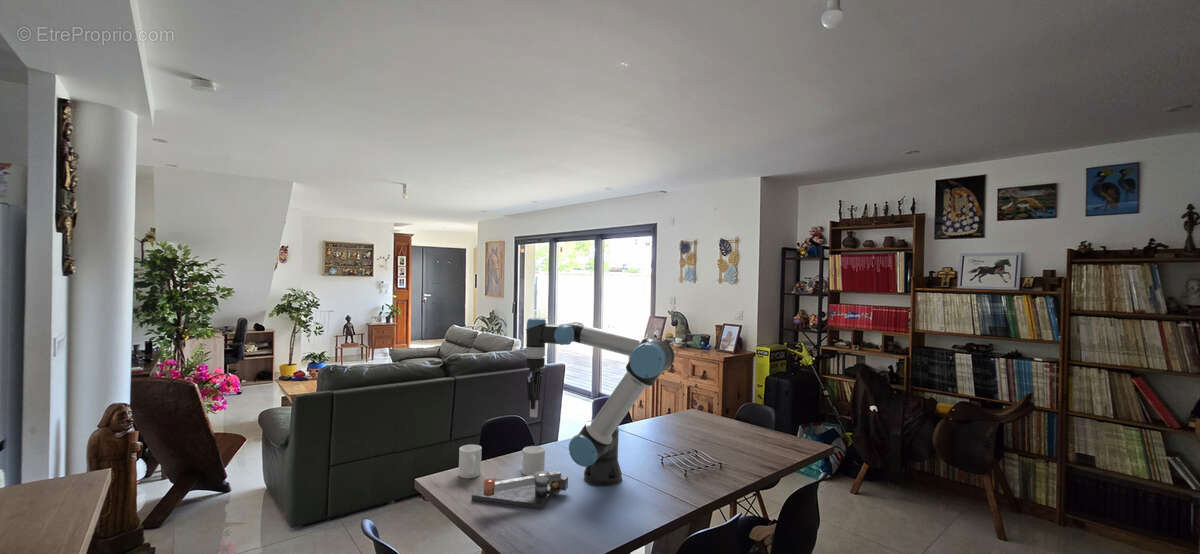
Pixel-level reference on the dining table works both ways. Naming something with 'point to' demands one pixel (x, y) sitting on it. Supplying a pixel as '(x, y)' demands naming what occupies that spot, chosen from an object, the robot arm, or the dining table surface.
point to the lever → (521, 482)
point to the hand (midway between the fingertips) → (533, 416)
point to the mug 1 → (470, 461)
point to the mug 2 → (532, 459)
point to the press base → (523, 495)
